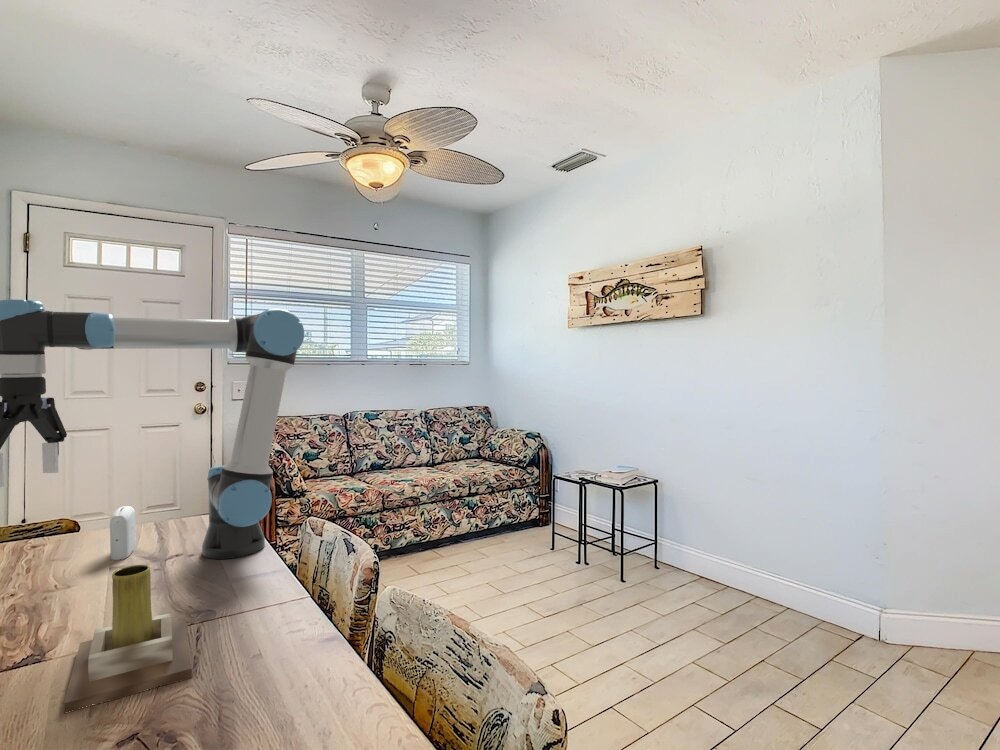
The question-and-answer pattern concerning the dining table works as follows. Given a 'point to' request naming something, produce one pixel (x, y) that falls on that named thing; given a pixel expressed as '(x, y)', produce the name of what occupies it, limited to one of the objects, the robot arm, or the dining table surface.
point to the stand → (128, 664)
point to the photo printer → (122, 533)
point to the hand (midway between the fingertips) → (24, 479)
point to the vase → (131, 606)
